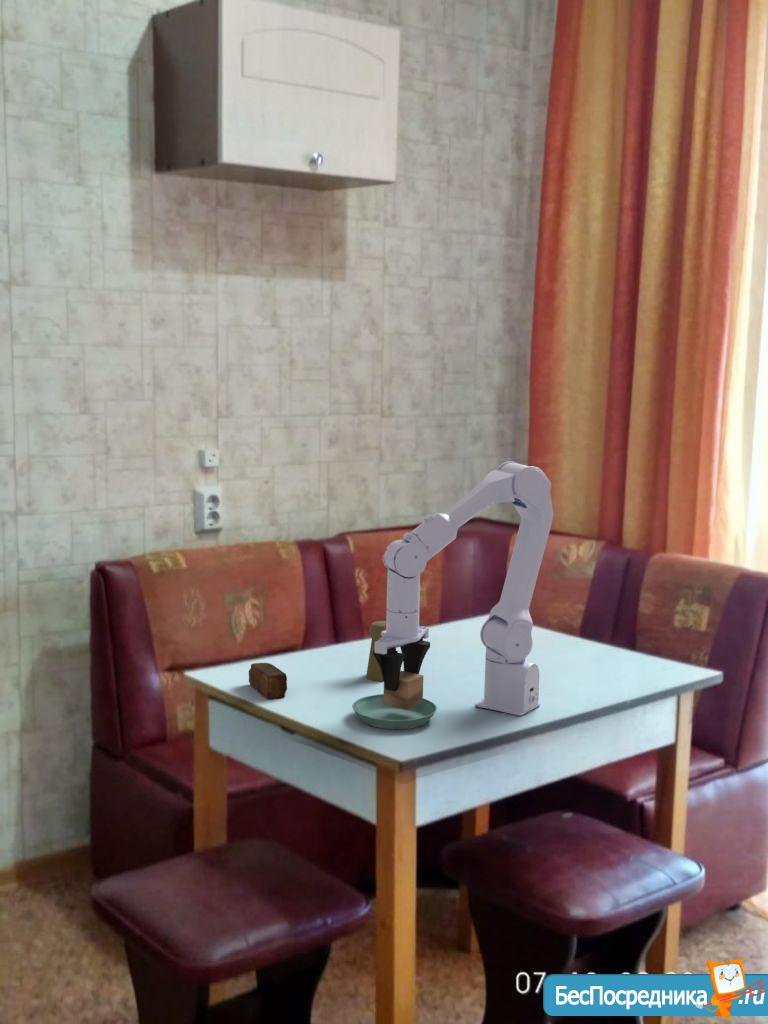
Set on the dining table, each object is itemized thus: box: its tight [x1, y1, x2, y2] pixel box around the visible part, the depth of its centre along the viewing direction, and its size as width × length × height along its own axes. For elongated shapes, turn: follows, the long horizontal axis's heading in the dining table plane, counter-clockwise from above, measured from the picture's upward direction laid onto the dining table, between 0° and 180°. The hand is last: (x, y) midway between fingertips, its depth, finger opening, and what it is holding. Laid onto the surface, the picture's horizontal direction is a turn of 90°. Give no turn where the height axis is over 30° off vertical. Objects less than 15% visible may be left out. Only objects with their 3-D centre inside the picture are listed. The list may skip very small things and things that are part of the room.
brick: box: [248, 662, 288, 700], centre depth 221 cm, size 11×4×5 cm, turn 25°
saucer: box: [352, 693, 438, 730], centre depth 206 cm, size 15×15×3 cm
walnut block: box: [383, 670, 424, 710], centre depth 207 cm, size 5×5×5 cm
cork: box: [365, 620, 386, 682], centre depth 231 cm, size 6×6×11 cm
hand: (401, 685), depth 208 cm, fingers open, 6 cm apart
